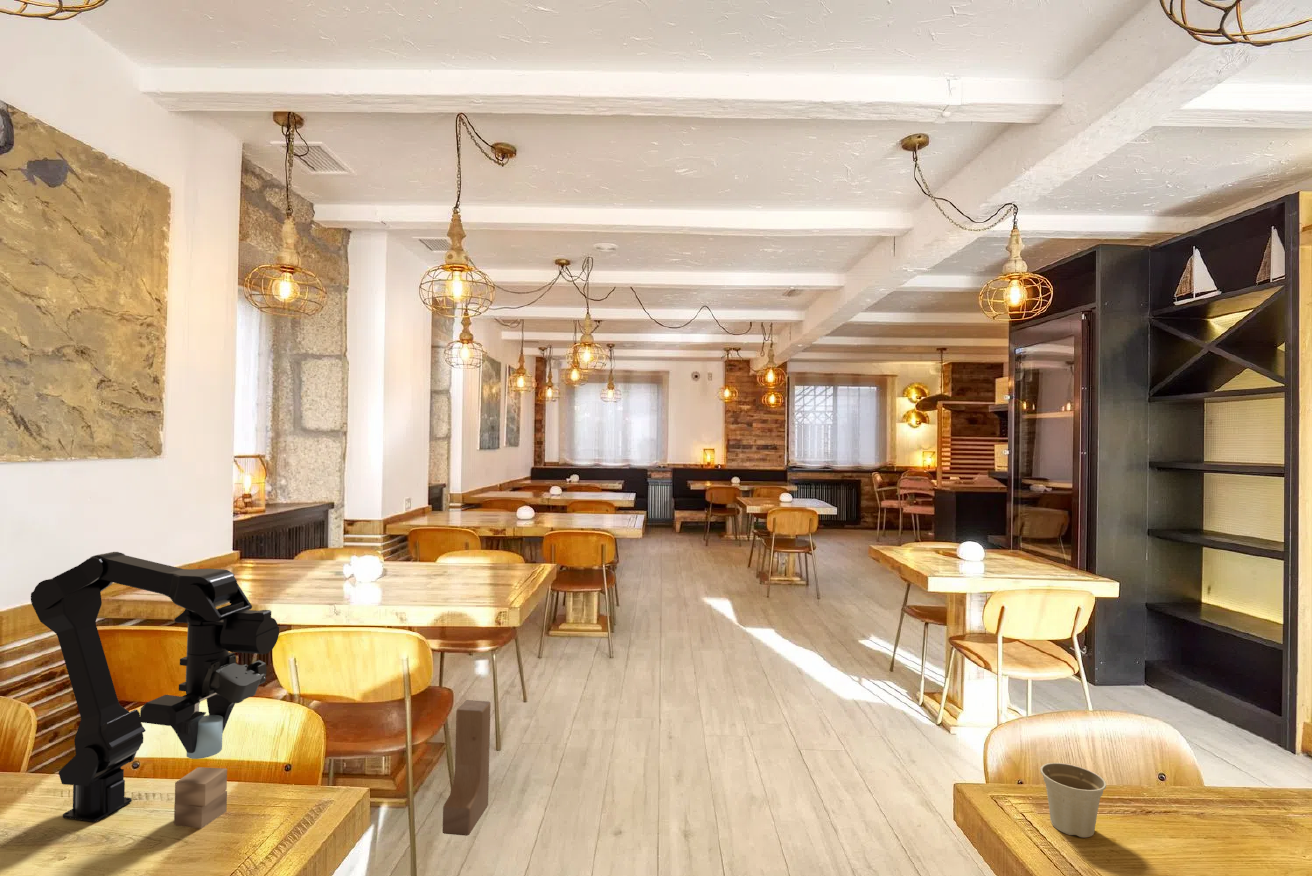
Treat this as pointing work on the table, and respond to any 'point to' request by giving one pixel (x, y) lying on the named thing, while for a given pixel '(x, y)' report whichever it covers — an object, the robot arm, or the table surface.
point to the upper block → (200, 786)
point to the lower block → (200, 812)
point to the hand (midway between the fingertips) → (204, 745)
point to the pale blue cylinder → (208, 737)
